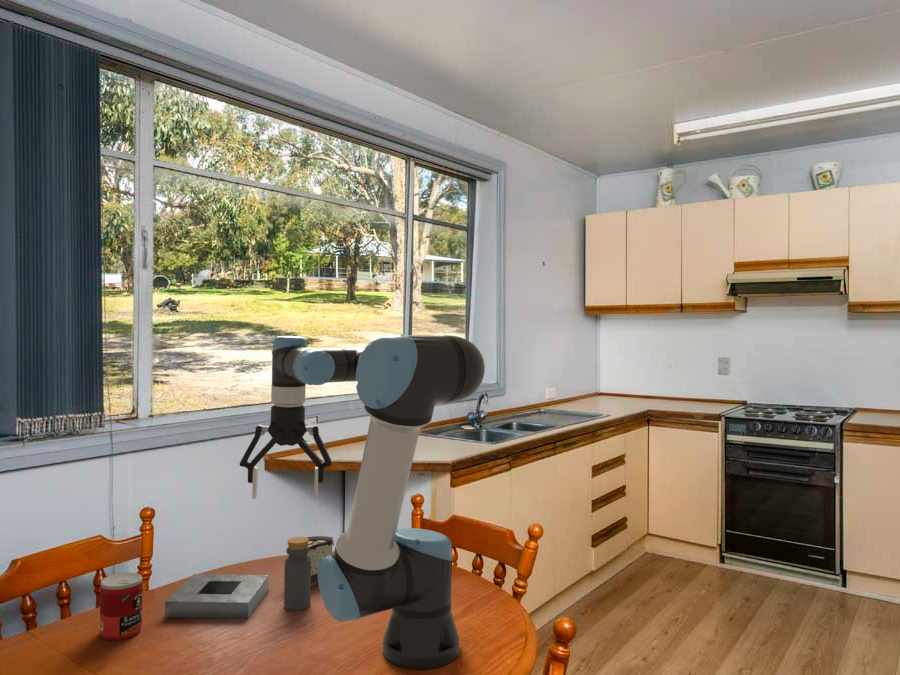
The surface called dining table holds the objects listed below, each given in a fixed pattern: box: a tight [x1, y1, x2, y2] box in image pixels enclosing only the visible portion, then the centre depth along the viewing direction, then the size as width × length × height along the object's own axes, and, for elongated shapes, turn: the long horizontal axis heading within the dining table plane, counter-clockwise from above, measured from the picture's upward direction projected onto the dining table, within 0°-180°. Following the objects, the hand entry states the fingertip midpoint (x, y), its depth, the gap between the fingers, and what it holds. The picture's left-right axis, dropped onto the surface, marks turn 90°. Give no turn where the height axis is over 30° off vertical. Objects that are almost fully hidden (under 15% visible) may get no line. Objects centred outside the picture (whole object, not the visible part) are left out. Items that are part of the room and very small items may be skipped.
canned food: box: [99, 572, 143, 641], centre depth 134 cm, size 8×8×11 cm
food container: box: [306, 535, 335, 586], centre depth 163 cm, size 12×6×10 cm, turn 144°
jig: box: [164, 573, 270, 620], centre depth 149 cm, size 16×18×4 cm
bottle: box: [283, 536, 312, 612], centre depth 148 cm, size 6×6×15 cm
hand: (285, 496), depth 148 cm, fingers open, 13 cm apart
